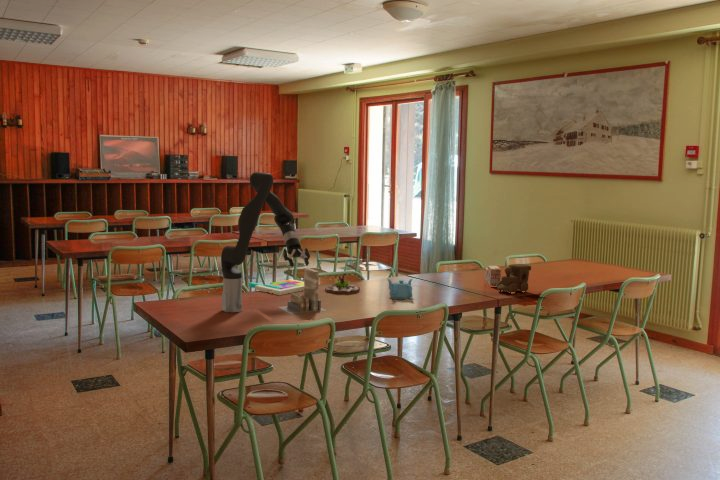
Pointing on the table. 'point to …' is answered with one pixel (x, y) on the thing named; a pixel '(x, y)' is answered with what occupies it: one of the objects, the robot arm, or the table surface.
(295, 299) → the pine offcuts
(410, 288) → the teapot
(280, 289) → the puzzle game
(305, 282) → the birch panel
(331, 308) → the table surface
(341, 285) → the plant
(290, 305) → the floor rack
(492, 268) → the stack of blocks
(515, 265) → the wooden toy train
